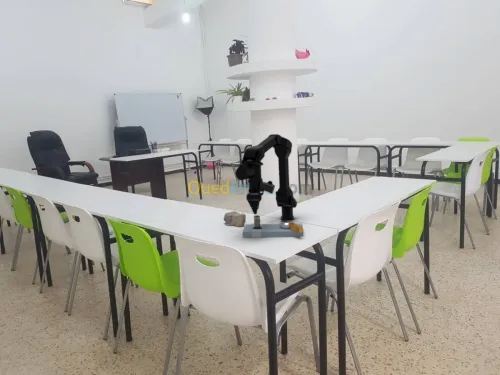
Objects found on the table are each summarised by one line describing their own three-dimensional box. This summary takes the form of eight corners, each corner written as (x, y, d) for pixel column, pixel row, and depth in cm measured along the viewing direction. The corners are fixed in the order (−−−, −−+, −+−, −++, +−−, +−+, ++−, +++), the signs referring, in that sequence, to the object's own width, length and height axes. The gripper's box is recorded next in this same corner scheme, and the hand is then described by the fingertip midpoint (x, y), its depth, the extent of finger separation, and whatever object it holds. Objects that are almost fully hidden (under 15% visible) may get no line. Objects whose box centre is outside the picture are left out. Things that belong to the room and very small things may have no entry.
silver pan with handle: (288, 223, 176) (288, 218, 176) (307, 231, 164) (307, 225, 163) (276, 226, 173) (276, 220, 173) (294, 234, 161) (294, 228, 160)
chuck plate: (246, 229, 180) (245, 224, 180) (302, 228, 177) (302, 223, 177) (242, 237, 169) (242, 232, 168) (303, 236, 166) (303, 231, 165)
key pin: (254, 232, 175) (254, 215, 174) (260, 232, 175) (260, 215, 174) (254, 234, 173) (253, 216, 171) (260, 234, 172) (259, 216, 171)
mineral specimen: (251, 223, 190) (250, 211, 189) (243, 227, 184) (243, 215, 183) (229, 221, 196) (229, 209, 195) (221, 225, 190) (221, 212, 189)
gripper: (272, 179, 159) (273, 216, 162) (274, 173, 177) (275, 206, 180) (245, 180, 160) (247, 217, 163) (250, 173, 179) (251, 207, 181)
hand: (256, 211), depth 172 cm, fingers open, 9 cm apart
